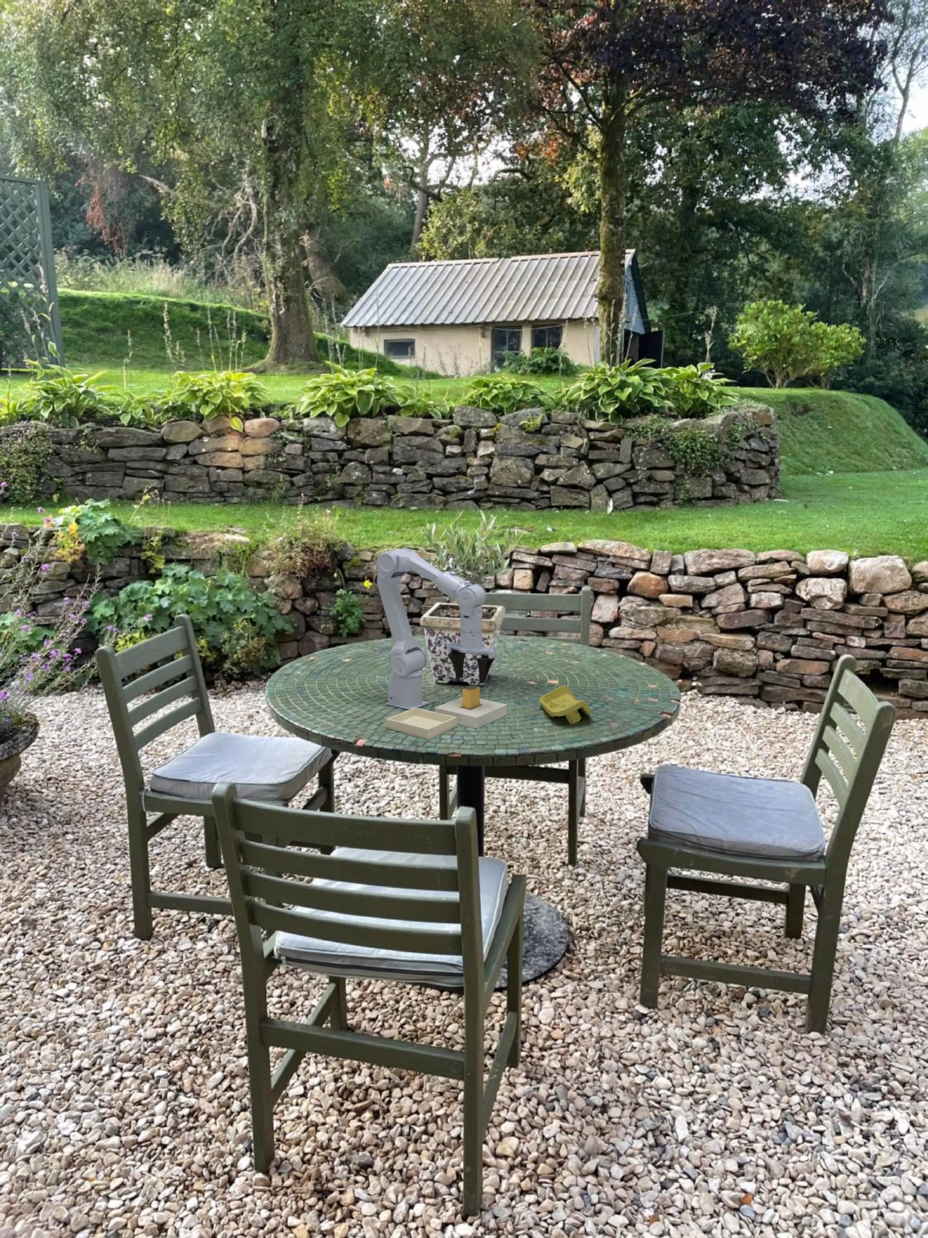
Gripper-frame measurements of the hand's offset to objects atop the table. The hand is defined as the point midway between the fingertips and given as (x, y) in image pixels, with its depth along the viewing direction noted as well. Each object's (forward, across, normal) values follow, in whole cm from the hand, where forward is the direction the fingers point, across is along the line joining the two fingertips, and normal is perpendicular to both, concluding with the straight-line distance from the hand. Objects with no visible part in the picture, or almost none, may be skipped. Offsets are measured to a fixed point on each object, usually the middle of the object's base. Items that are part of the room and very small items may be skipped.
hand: (471, 680), depth 221 cm
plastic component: (+11, +20, +16) cm, 28 cm away
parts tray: (+10, -5, -15) cm, 19 cm away
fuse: (+10, 0, 0) cm, 10 cm away
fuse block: (+10, 0, 0) cm, 10 cm away
